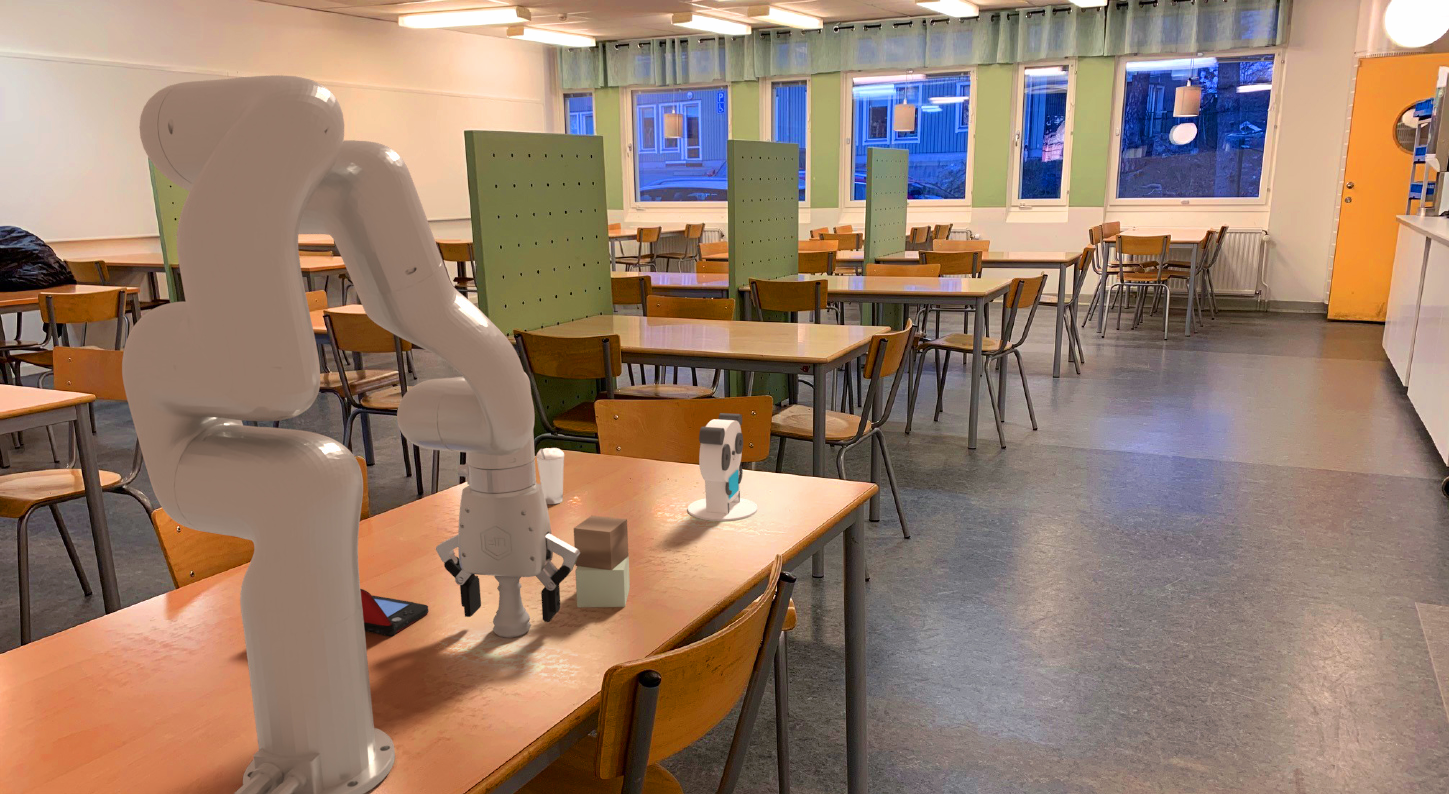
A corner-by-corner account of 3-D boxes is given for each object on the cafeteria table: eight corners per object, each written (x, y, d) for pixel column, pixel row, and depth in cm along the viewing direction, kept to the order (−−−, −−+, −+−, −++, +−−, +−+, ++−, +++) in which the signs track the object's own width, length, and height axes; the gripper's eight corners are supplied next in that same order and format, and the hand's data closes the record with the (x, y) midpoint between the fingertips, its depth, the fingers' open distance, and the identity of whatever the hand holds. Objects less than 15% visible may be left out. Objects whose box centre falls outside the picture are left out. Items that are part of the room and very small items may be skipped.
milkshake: (531, 506, 161) (528, 447, 159) (546, 496, 166) (543, 439, 164) (556, 508, 159) (553, 449, 157) (571, 498, 164) (568, 441, 162)
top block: (611, 570, 120) (609, 532, 119) (575, 565, 122) (573, 528, 121) (628, 556, 125) (627, 519, 124) (593, 552, 127) (591, 515, 126)
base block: (625, 607, 122) (623, 570, 120) (577, 608, 122) (575, 570, 120) (629, 588, 127) (628, 552, 126) (584, 588, 127) (582, 552, 126)
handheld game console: (433, 613, 121) (428, 557, 119) (372, 652, 111) (366, 591, 109) (354, 599, 125) (348, 545, 124) (289, 634, 116) (282, 576, 114)
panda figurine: (744, 525, 150) (743, 431, 147) (676, 518, 154) (674, 426, 151) (765, 501, 161) (765, 413, 158) (701, 496, 165) (699, 410, 162)
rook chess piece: (522, 640, 113) (518, 576, 111) (486, 637, 114) (482, 573, 112) (537, 624, 117) (533, 561, 115) (502, 621, 118) (498, 559, 116)
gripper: (416, 482, 109) (428, 624, 113) (563, 488, 106) (571, 633, 110) (446, 464, 116) (456, 597, 120) (584, 469, 113) (591, 606, 117)
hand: (511, 614), depth 115 cm, fingers open, 9 cm apart
